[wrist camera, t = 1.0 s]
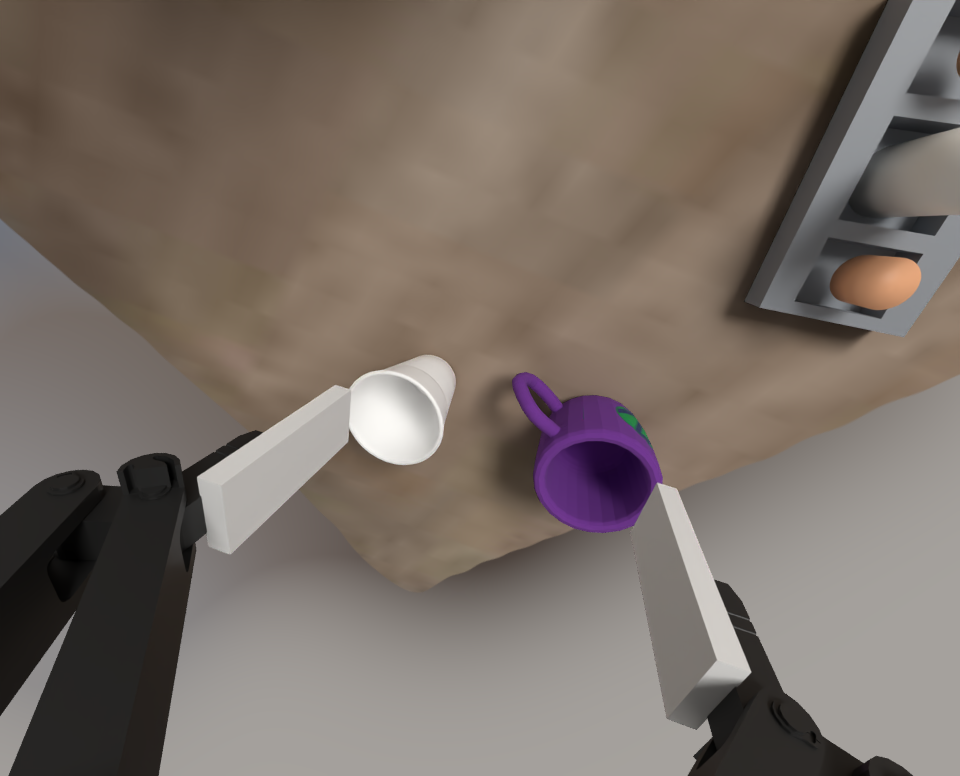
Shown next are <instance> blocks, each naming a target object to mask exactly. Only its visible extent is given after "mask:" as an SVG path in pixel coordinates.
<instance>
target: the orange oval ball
mask: <svg viewBox="0 0 960 776" xmlns="http://www.w3.org/2000/svg"><path fill="white" fill-rule="evenodd" d="M956 69H957V73H958V75H959V77H960V51H959V54H958V57H957V63H956Z"/></svg>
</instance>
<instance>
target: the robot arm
mask: <svg viewBox="0 0 960 776" xmlns="http://www.w3.org/2000/svg"><path fill="white" fill-rule="evenodd" d="M350 403H351V390H350V389H347V388H344V387H340V386H337V385H334V386H333V387H331V388H330V389H328V390H327V391H325V392H324V393H322V394H321V395H319V396H318V397H316V398H315V399H313V400H312V401H310V402H309V403H307V404H306V405H304V406H303V407H301V408H300V409H298V410H297V411H295V412H294V413H292V414H291V415H289V416H288V417H286V418H285V419H283V420H282V421H280V422H279V423H277V424H276V425H274V426H273V427H271V428H270V429H268V430H267V431H265V432H264V433H263V432H260V431H257V430H255V431H252V432H249V433H246V434H244V435H240V436H238V437H237V438H235V439H234V440H232V441H231V442H229V443H227V445H226V446H222V447H221V448H219V449H218V450H216V452H215V453H214V452H213V453H211V454H210V455H208V456H206V457H205V458H203V459H202V460H200V461H199V462H197V463H195V464H194V465H192V466H191V467H189V468H187V469H186V470H184V471H183V472H182V470H181V464H180V460H179V458H177V457H176V456H175V455H171V454H167V453H154V454H149V455H143V456H140V457H137V458H134V459H132V460H130V461H128V462H127V463H125V464H123V465H122V466H121V467H120V468H119V469H118V471H117V474H118V478H119V482H120V485H121V486H105V485H102V482H101V479H100V476H99V474H98V473H96V472H94V471H88V470H75V471H68V472H64V473H60V474H56V475H54V476H52V477H49V478H47V479H44V480H43V481H41V482H40V483H38V484H36V485H35V486H34V487H33V488H31V489H30V490H29V491H28V492H27V493H26V494H24V495H23V496H22V497H21V498H20V499H19V500H18V501H16V502H15V503H14V504H13V505H12V506H11V507H10V508H8V509H7V510H6V511H5V512H4V513H3V514H1V515H0V716H1V714H2V713H3V711H4V710H5V709H6V707H7V706H8V704H9V703H10V702H11V700H12V699H13V698H14V696H15V695H16V693H17V692H18V690H19V689H20V688H21V686H22V685H23V684H24V682H25V681H26V679H27V678H28V677H29V675H30V674H31V672H32V671H33V670H34V668H35V667H36V665H37V664H38V663H39V661H40V660H41V658H42V657H43V655H44V654H45V652H46V651H47V650H48V649H49V647H50V646H51V644H52V643H53V642H54V640H55V639H56V637H57V636H58V635H59V633H60V632H61V631H62V629H63V628H64V626H65V625H66V624H67V622H68V621H69V619H70V618H71V617H72V615H73V614H74V612H75V611H76V612H75V615H74V617H73V619H72V622H71V624H70V627H69V629H68V632H67V634H66V637H65V639H64V642H63V644H62V646H61V649H60V651H59V654H58V657H57V658H56V661H55V664H54V666H53V669H52V671H51V673H50V676H49V678H48V681H47V683H46V685H45V688H44V690H43V693H42V695H41V698H40V700H39V702H38V705H37V707H36V710H35V712H34V715H33V717H32V720H31V722H30V724H29V727H28V729H27V732H26V734H25V737H24V739H23V741H22V744H21V746H20V749H19V751H18V754H17V756H16V759H15V761H14V764H13V766H12V769H11V771H10V773H9V776H158V775H159V770H160V763H161V757H162V751H163V745H164V739H165V734H166V728H167V722H168V716H169V710H170V703H171V698H172V691H173V686H174V680H175V674H176V668H177V662H178V656H179V650H180V644H181V638H182V632H183V626H184V620H185V614H186V608H187V602H188V596H189V590H190V584H191V578H192V572H193V566H194V560H195V554H196V544H195V542H196V541H197V540H199V539H200V538H201V537H202V536H203V535H204V534H206V535H207V541H208V546H209V547H211V548H214V549H216V550H219V551H221V552H224V553H227V554H229V555H231V554H232V553H233V552H234V551H235V550H236V549H237V548H238V547H239V546H240V545H241V544H242V543H243V542H244V541H245V540H246V539H247V538H248V537H249V536H250V535H252V534H253V532H255V531H256V530H257V529H258V528H259V527H260V526H261V525H262V524H263V523H264V522H265V521H266V520H267V519H268V518H269V517H270V516H271V515H272V514H273V513H274V512H275V511H276V510H277V509H279V508H280V507H281V505H283V504H284V503H285V502H286V501H287V500H288V499H289V498H290V497H291V496H292V495H293V494H294V493H295V492H296V491H297V490H298V489H299V488H300V487H302V486H303V485H304V484H305V483H306V482H307V481H308V480H309V479H310V478H311V477H312V476H313V475H314V474H315V473H316V472H317V471H318V470H319V469H320V468H321V467H322V466H323V465H324V464H326V463H327V462H328V461H329V460H330V459H331V458H332V457H333V456H334V455H335V454H336V453H337V452H338V451H339V450H340V449H341V448H342V447H343V446H344V445H345V444H346V443H347V442H348V437H349V420H350ZM630 533H631V539H632V543H633V548H634V554H635V559H636V564H637V569H638V574H639V579H640V584H641V589H642V595H643V600H644V605H645V610H646V615H647V620H648V625H649V631H650V636H651V641H652V646H653V651H654V656H655V661H656V666H657V672H658V677H659V682H660V687H661V692H662V697H663V702H664V707H665V712H666V718H667V719H669V720H671V721H674V722H677V723H680V724H682V725H685V726H687V727H690V728H693V729H696V730H697V729H698V728H699V727H700V726H701V725H702V724H703V722H704V721H705V720H706V719H707V718H708V722H709V725H710V729H711V732H712V736H713V737H712V738H711V739H710V740H709V741H708V742H707V743H706V744H705V745H704V746H703V747H702V748H701V749H700V750H699V751H698V752H697V753H696V754H695V755H694V756H693V757H694V758H695V759H696V760H697V761H696V762H695V764H694V766H693V767H692V769H691V771H690V773H689V774H688V776H913V775H912V774H910V773H909V772H908V771H907V770H906V769H904V768H903V767H902V766H900V765H898V764H896V763H895V762H893V761H891V760H889V759H887V758H883V757H879V756H875V757H873V758H872V759H870V760H868V761H867V762H865V763H862V762H861V761H859V760H858V759H856V758H855V757H853V756H851V755H850V754H849V753H847V752H846V751H844V750H842V749H841V748H839V747H838V746H836V745H835V744H833V743H832V742H830V741H829V740H827V739H826V738H824V737H823V736H822V735H821V733H820V730H819V728H818V727H817V725H816V724H815V722H814V721H813V720H812V718H811V717H810V715H809V714H808V713H807V712H806V711H805V710H804V709H803V708H802V707H801V706H800V705H799V704H798V703H797V702H796V701H795V700H793V699H792V698H791V697H789V696H788V695H787V694H785V693H784V692H783V690H782V688H781V686H780V683H779V681H778V679H777V677H776V675H775V672H774V670H773V668H772V666H771V664H770V662H769V659H768V657H767V655H766V653H765V651H764V648H763V646H762V644H761V642H760V640H759V638H758V637H757V636H756V631H755V629H754V627H753V625H752V623H751V622H750V621H749V619H750V618H749V616H748V614H747V611H746V609H745V607H744V605H743V603H742V601H741V600H740V598H739V597H738V596H737V595H736V593H735V592H734V591H733V590H732V588H731V587H730V586H729V585H728V584H726V583H723V582H720V581H717V580H714V579H713V576H712V574H711V572H710V569H709V567H708V564H707V562H706V559H705V557H704V554H703V552H702V550H701V547H700V545H699V542H698V540H697V537H696V535H695V532H694V530H693V527H692V525H691V522H690V520H689V518H688V515H687V513H686V510H685V508H684V505H683V503H682V501H681V498H680V496H679V493H678V490H677V489H676V488H673V487H670V486H666V485H663V484H660V483H656V485H655V487H654V489H653V491H652V493H651V495H650V496H649V498H648V500H647V502H646V504H645V506H644V508H643V510H642V511H641V513H640V515H639V517H638V519H637V521H636V523H635V525H634V527H633V528H632V530H631V532H630Z"/></svg>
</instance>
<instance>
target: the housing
mask: <svg viewBox="0 0 960 776" xmlns="http://www.w3.org/2000/svg"><path fill="white" fill-rule="evenodd" d="M959 51H960V0H888V2H887V4H886V7H885V9H884V11H883V13H882V15H881V17H880V19H879V21H878V23H877V25H876V27H875V29H874V32H873V34H872V36H871V38H870V40H869V42H868V44H867V46H866V48H865V50H864V52H863V55H862V57H861V59H860V61H859V63H858V65H857V67H856V69H855V71H854V73H853V75H852V78H851V80H850V82H849V84H848V86H847V88H846V90H845V92H844V94H843V96H842V98H841V100H840V103H839V105H838V107H837V109H836V111H835V113H834V115H833V117H832V119H831V121H830V123H829V126H828V128H827V130H826V132H825V134H824V136H823V138H822V140H821V142H820V144H819V146H818V148H817V151H816V153H815V155H814V157H813V159H812V161H811V163H810V165H809V167H808V169H807V171H806V174H805V176H804V178H803V180H802V182H801V184H800V186H799V188H798V190H797V192H796V194H795V197H794V199H793V201H792V203H791V205H790V207H789V209H788V211H787V213H786V215H785V217H784V219H783V222H782V224H781V226H780V228H779V230H778V232H777V234H776V236H775V238H774V240H773V242H772V245H771V247H770V249H769V251H768V253H767V255H766V257H765V259H764V261H763V263H762V265H761V268H760V270H759V272H758V274H757V276H756V278H755V280H754V282H753V284H752V286H751V288H750V290H749V293H748V295H747V297H746V299H745V302H747V303H750V304H752V305H754V306H757V307H759V308H764V309H769V310H774V311H779V312H784V313H789V314H793V315H798V316H803V317H808V318H813V319H818V320H823V321H828V322H833V323H837V324H842V325H847V326H852V327H857V328H862V329H867V330H872V331H876V332H881V333H886V334H891V335H896V336H901V337H904V336H905V335H906V333H907V332H908V331H909V329H910V328H911V326H912V325H913V323H914V322H915V321H916V319H917V318H918V316H919V315H920V313H921V312H922V310H923V309H924V308H925V306H926V305H927V303H928V302H929V300H930V299H931V297H932V296H933V295H934V293H935V292H936V290H937V289H938V287H939V286H940V284H941V283H942V282H943V280H944V279H945V277H946V276H947V274H948V273H949V271H950V270H951V269H952V267H953V266H954V264H955V263H956V261H957V260H958V259H959V257H960V215H940V216H915V217H890V218H867V217H863V216H861V215H859V214H857V213H856V212H854V211H853V209H852V208H851V207H850V205H849V202H848V200H849V198H850V197H851V195H852V193H853V191H854V189H855V187H856V185H857V184H858V182H859V180H860V178H861V176H862V174H863V172H864V170H865V169H866V167H867V165H868V163H869V161H870V159H871V157H872V156H873V154H874V153H876V152H877V151H879V150H881V149H883V148H886V147H888V146H892V145H895V144H899V143H903V142H906V141H910V140H914V139H918V138H922V137H925V136H929V135H933V134H937V133H940V132H944V131H948V130H952V129H956V128H959V127H960V77H959V75H958V73H957V69H956V63H957V57H958V54H959ZM861 255H877V256H889V257H901V258H907V259H910V260H912V261H914V262H915V263H916V264H917V265H918V266H919V268H920V271H921V281H920V284H919V286H918V288H917V290H916V291H915V292H914V294H913V295H912V296H911V297H910V298H908V299H907V300H906V301H905V302H903V303H901V304H900V305H898V306H895V307H893V308H889V309H885V310H872V309H868V308H864V307H861V306H857V305H853V304H849V303H845V302H842V301H839V300H837V299H836V298H835V297H834V296H833V295H832V293H831V291H830V281H831V278H832V276H833V274H834V272H835V271H836V270H837V268H838V267H839V266H841V265H842V264H843V263H844V262H846V261H847V260H849V259H851V258H854V257H857V256H861Z"/></svg>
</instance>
